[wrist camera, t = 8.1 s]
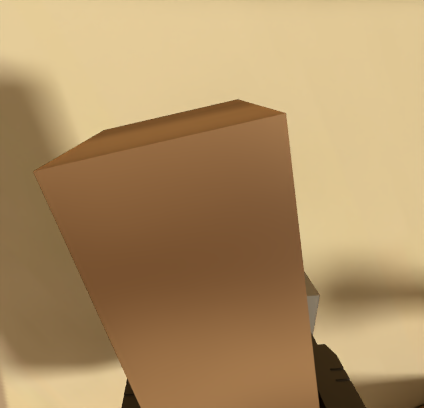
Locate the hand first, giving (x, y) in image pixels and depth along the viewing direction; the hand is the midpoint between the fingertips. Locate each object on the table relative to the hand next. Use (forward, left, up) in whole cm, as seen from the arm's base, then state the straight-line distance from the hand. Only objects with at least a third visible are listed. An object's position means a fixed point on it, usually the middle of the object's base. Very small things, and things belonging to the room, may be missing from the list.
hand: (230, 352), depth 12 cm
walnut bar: (0, 0, -1) cm, 1 cm away
